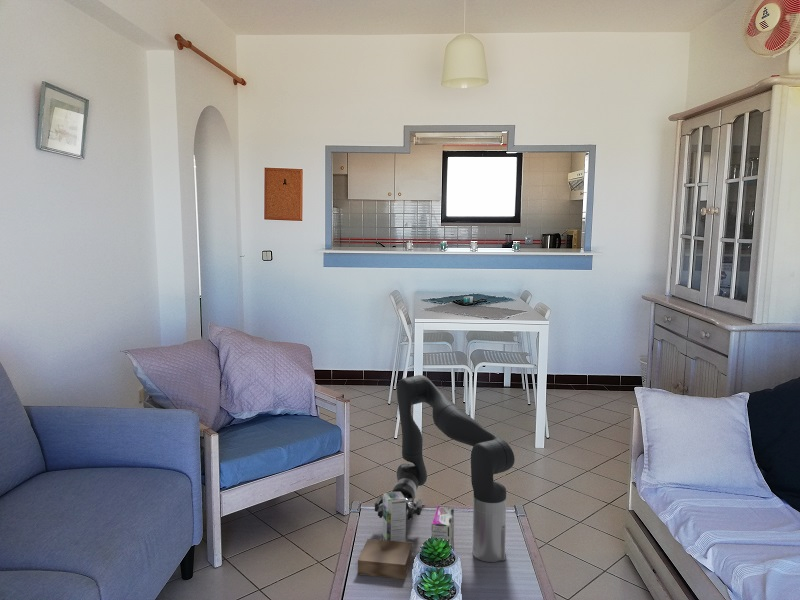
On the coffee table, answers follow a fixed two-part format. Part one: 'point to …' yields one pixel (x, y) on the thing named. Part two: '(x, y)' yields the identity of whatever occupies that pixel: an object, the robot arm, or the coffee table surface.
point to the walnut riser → (385, 558)
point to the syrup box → (394, 516)
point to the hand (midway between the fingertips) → (394, 516)
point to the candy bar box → (444, 524)
